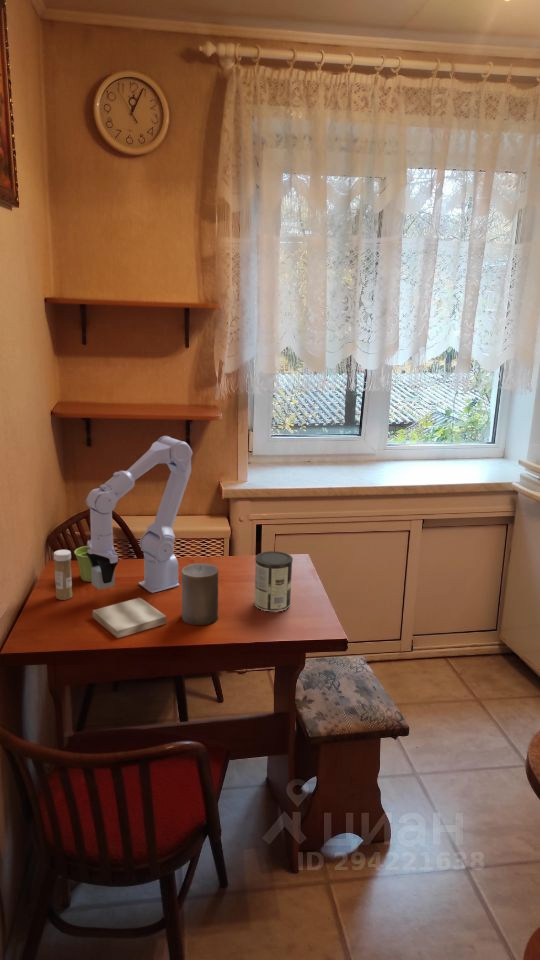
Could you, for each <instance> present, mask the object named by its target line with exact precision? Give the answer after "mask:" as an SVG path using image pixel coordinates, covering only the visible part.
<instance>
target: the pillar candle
mask: <svg viewBox="0 0 540 960" xmlns="http://www.w3.org/2000/svg"><path fill="white" fill-rule="evenodd" d="M218 612H219V569H218V567H217V566H216V565H214V564H209V563H203V562H201V563H199V562H198V563H192V564H187V565H186V566H184V567H183V568H182V569H181V618H182V620H183V622H184V623H186V624H188V625H192V626H193V625H194V626H206V625H210V624H213V623H215V622H217V621H218V618H219V613H218Z"/></svg>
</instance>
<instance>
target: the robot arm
mask: <svg viewBox="0 0 540 960" xmlns="http://www.w3.org/2000/svg"><path fill="white" fill-rule="evenodd" d="M193 454H194V452H193V450H192V448H191V447H190V445H189V443H187V442H186V441H182V440H180V439H176V438H172V437H171V436H170V435H169V436H168V435H163V436H160V437H159V438H158V439H157V441H155V442H153V443H151V446H150V448H149V449H148V450H147V451H146V452H145V453H144V454H142V456H140V458H139V459H138V460H136V462H134V464H132V465H131V466H130V467H129V468H128V469H127V470H119V471H115V472H113V474H112V475H113V476H112V477H111V478H110V479H108V480H107V481H105V483H104V484H103V483H102V484H101V485H100V486H99V488H94V489H92V490H91V491H90V492H89V493H87V498H86V499H85V504H86V505H87V507H89V512H90V513H89V517H90V518H89V519H90V540H87V542H86V543H87V544H86V546H88V548H90V549H89V550H87V553H86V555H87V556H88V558H89V560H90V562H91V565H92V567H95V566H100V569H101V573H102V579H103V582H104V583H109V582H111V581H112V577H113V573H114V574H115V570H116V568H117V566H118V564H119V562H120V558H119V555H118V554H117V553H116V549H115V548H114V540H113V539H114V536H113V511H114V510H115V508H116V506H117V502H119V500H120V499H121V498H122V497H124V496H125V495H126V494H127V493H128V492H129V491H131V490H132V489H133V488H135V482H136V480H137V479H139V478H140V477H142V476H143V475H144V474H146V473H147V472H149V470H151V469H152V468H154V467H155V466H156V465H158V464H166V465H167V467H168V469H169V471H170V473H169V477H168V479H167V483H166V486H165V488H164V492H163V494H162V497H161V501H160V503H159V507H158V510H157V513H156V516H155V519H154V522H153V523H151V524H149V525H148V526H147V528H146V531H145V532H144V534H142V535H141V537H140V539H139V547H140V549H141V551H143V555H144V556H143V560H144V561H143V563H144V566H143V567H144V568H143V570H144V571H143V572H144V573H143V574H144V576H143V578H144V580H143V581H139V582H138V585H139V586H141V587H142V588H144V589H145V590H147V591H148V592H150V593H152V594H155V593H157V592H161V591H165V590H168V589H172V588H177V587H179V586H180V583H179V562H178V558H177V557H176V556H175V554H174V551H175V546H174V544H175V543H174V542H175V540H176V536H175V533H174V531H173V527H174V524H175V521H176V518H177V515H178V512H179V509H180V506H181V503H182V501H183V498H184V493H185V491H186V488H187V485H188V482H189V479H190V476H191V473H192V456H193Z"/></svg>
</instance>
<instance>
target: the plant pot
mask: <svg viewBox="0 0 540 960" xmlns="http://www.w3.org/2000/svg"><path fill="white" fill-rule="evenodd" d="M89 549H90V548H88V545H85V546H80V547H78V548H76V549H74V551H73V552H74V555H75V556H76V559H77V563H78V569H79V575H80V579H81V580H82V581H83V582H90V583H92V575H91V567H92V565H91V562H90V560H89V558H88V556H87V555H86V553H87V550H89Z"/></svg>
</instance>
